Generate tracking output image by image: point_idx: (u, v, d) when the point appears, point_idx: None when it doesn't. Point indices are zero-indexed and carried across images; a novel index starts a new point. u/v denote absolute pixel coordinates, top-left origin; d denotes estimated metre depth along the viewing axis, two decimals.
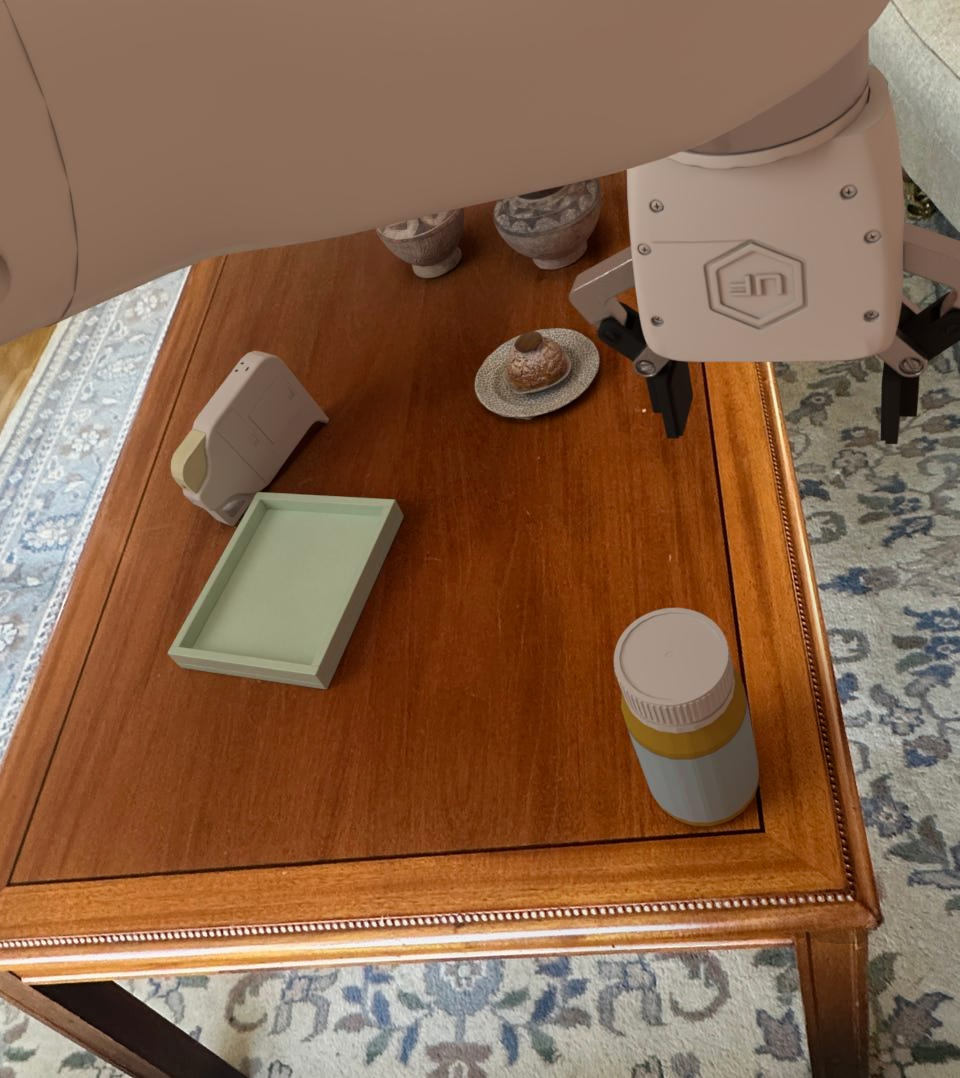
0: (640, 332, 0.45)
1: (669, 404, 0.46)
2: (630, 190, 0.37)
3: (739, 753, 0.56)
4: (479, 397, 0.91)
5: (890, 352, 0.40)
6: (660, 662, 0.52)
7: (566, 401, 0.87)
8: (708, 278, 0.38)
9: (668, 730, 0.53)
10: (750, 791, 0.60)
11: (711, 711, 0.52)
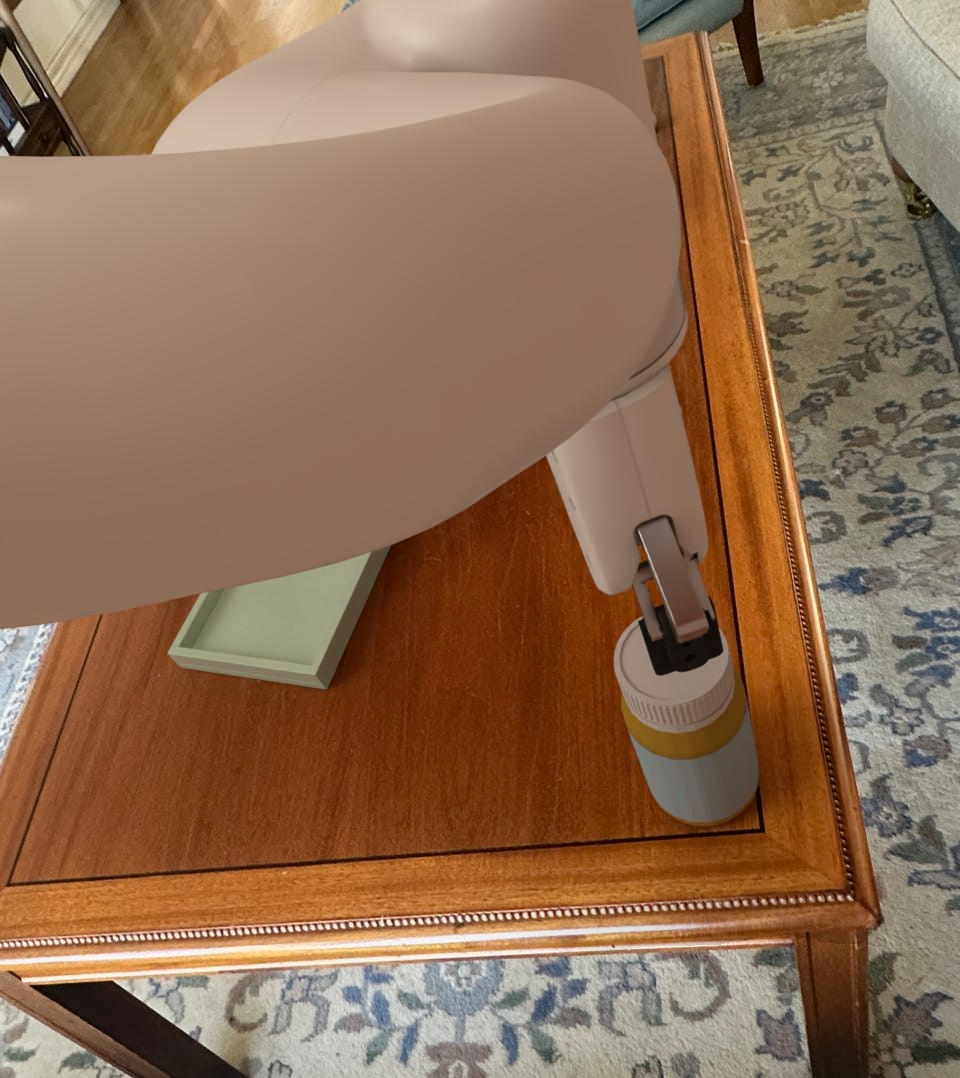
0: None
1: None
2: None
3: (739, 753, 0.56)
4: None
5: (638, 603, 0.41)
6: None
7: None
8: None
9: (668, 730, 0.53)
10: (750, 791, 0.60)
11: (711, 711, 0.52)
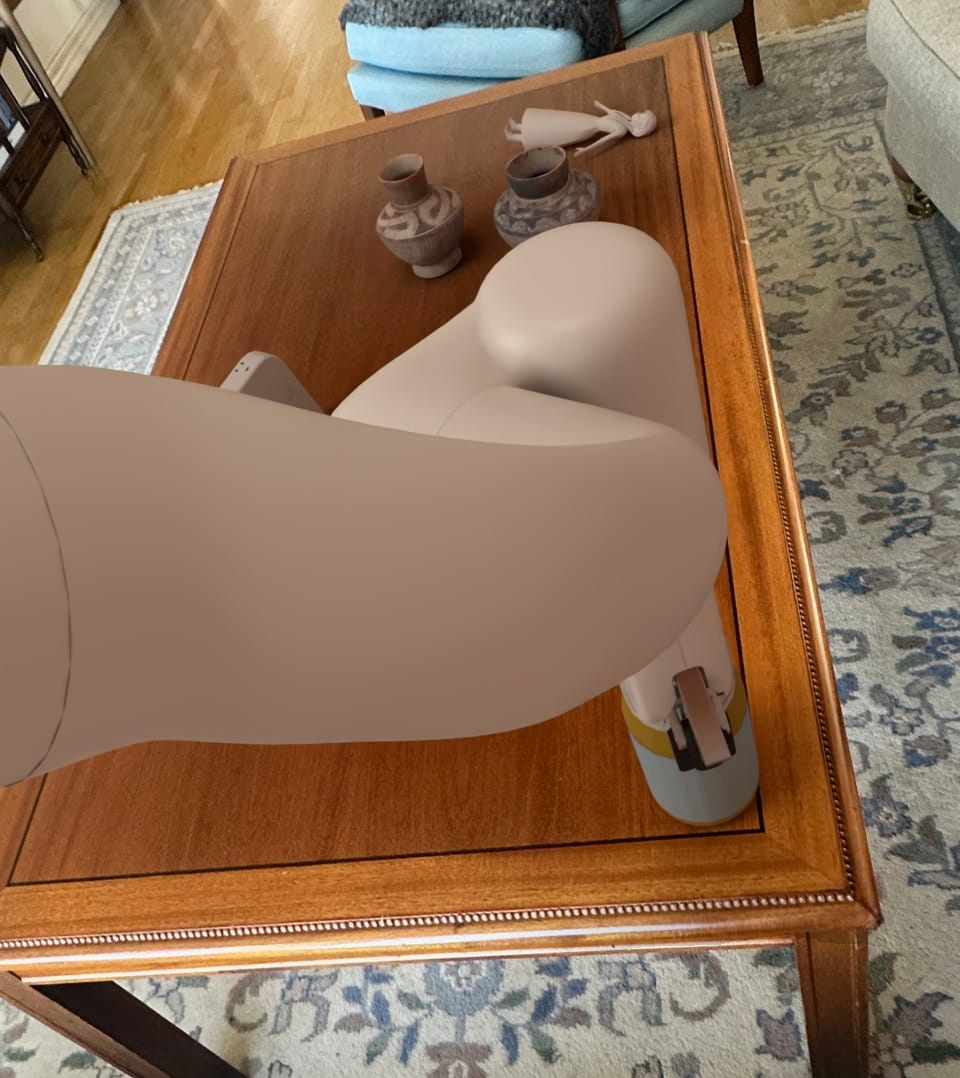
0: None
1: None
2: None
3: (739, 753, 0.56)
4: None
5: (668, 718, 0.49)
6: None
7: None
8: None
9: None
10: (750, 791, 0.60)
11: None
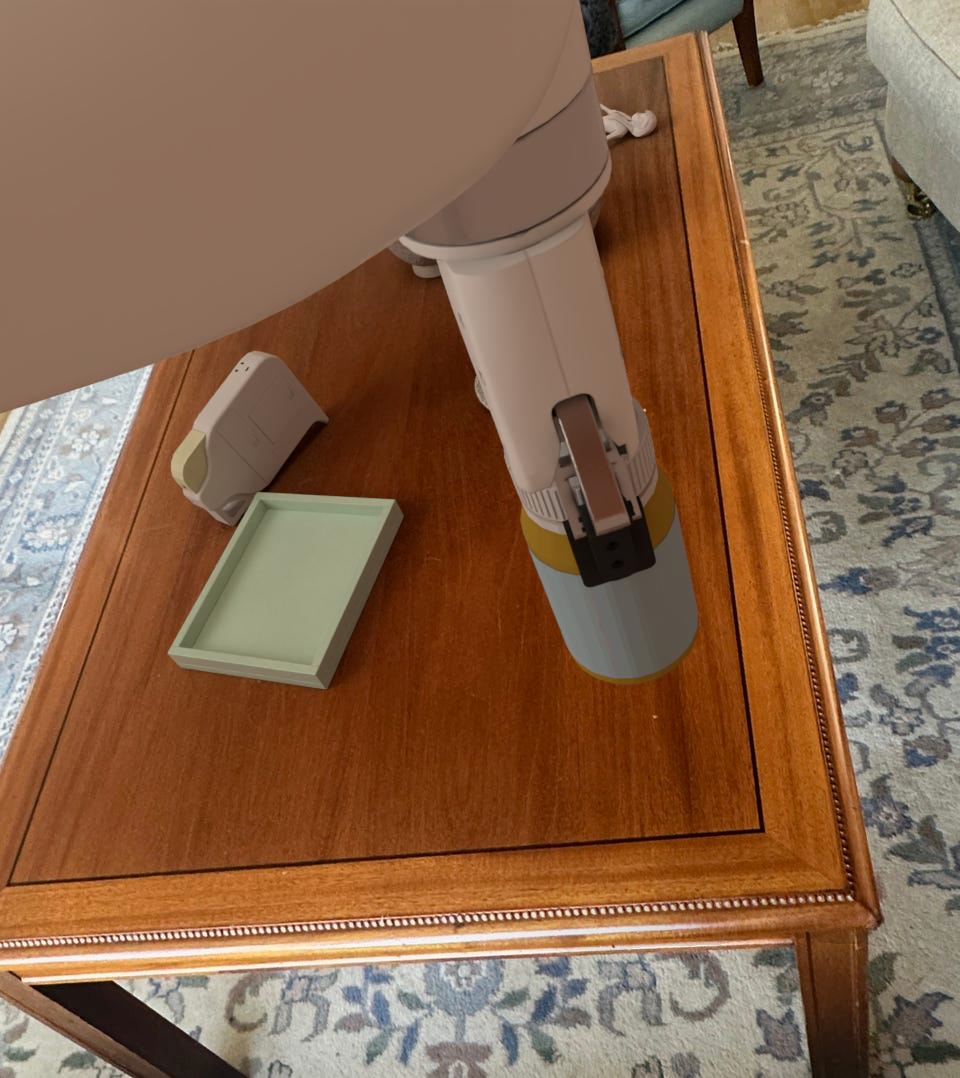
0: None
1: None
2: None
3: (666, 576, 0.44)
4: (479, 397, 0.91)
5: None
6: (561, 443, 0.41)
7: None
8: None
9: None
10: (685, 640, 0.48)
11: None
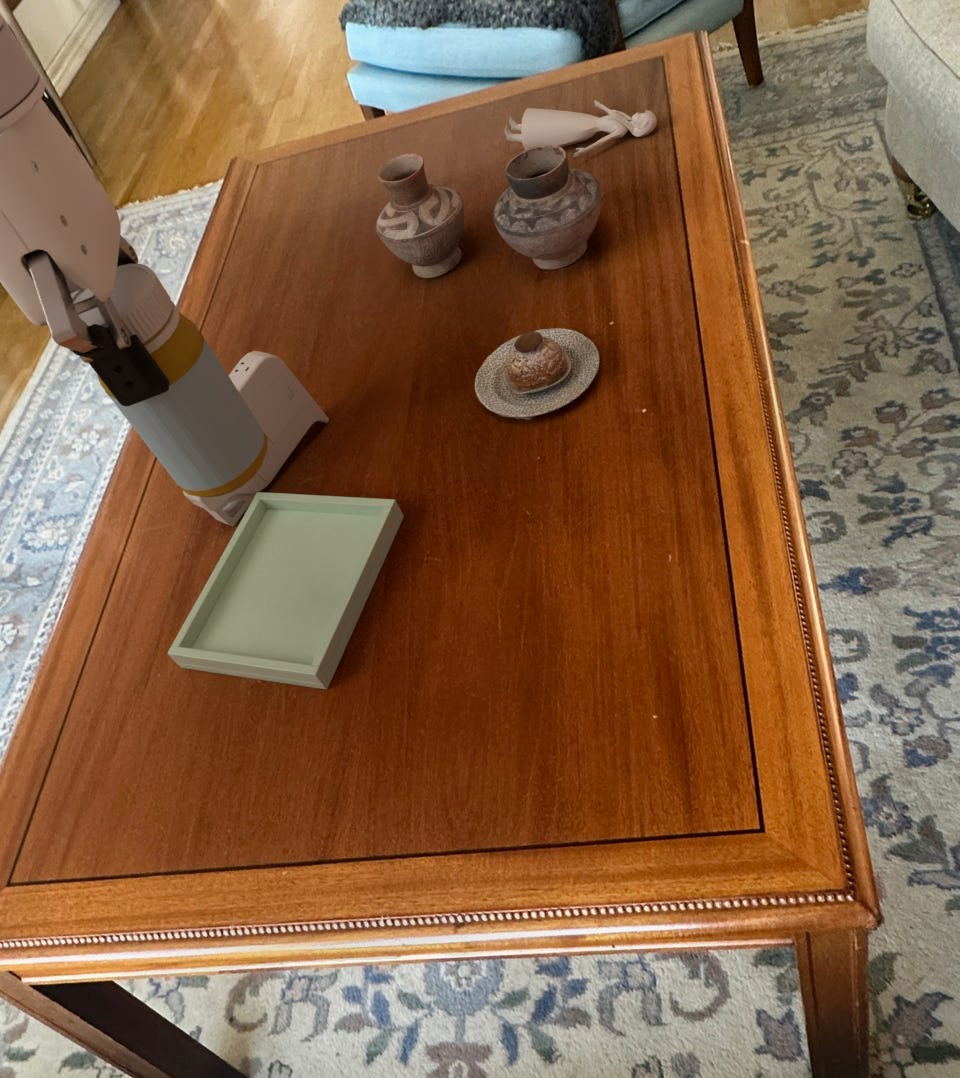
0: None
1: None
2: None
3: (200, 404, 0.62)
4: (479, 397, 0.91)
5: None
6: None
7: (566, 401, 0.87)
8: None
9: None
10: (243, 461, 0.66)
11: None
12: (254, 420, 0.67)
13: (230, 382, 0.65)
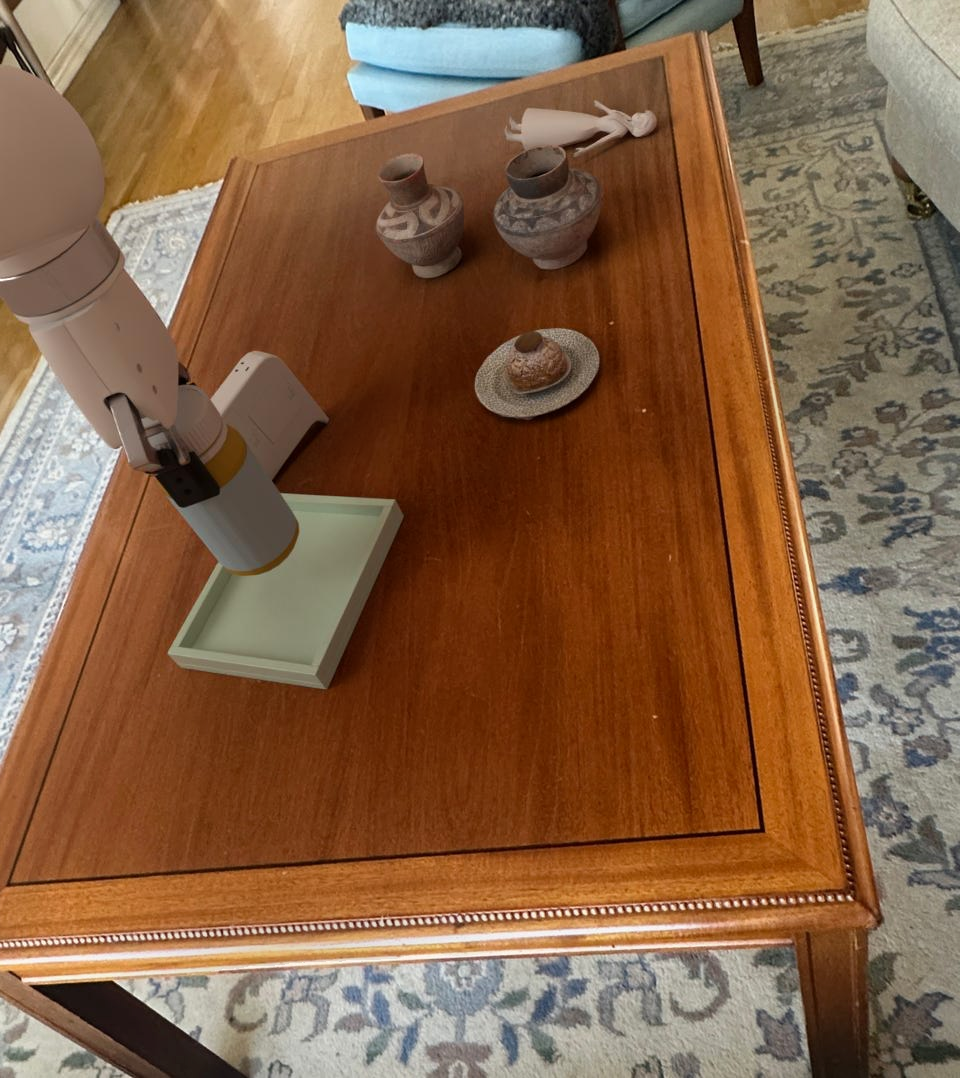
0: None
1: None
2: None
3: (244, 502, 0.72)
4: (479, 397, 0.91)
5: None
6: None
7: (566, 401, 0.87)
8: None
9: None
10: (279, 546, 0.76)
11: None
12: (288, 509, 0.78)
13: (268, 479, 0.75)
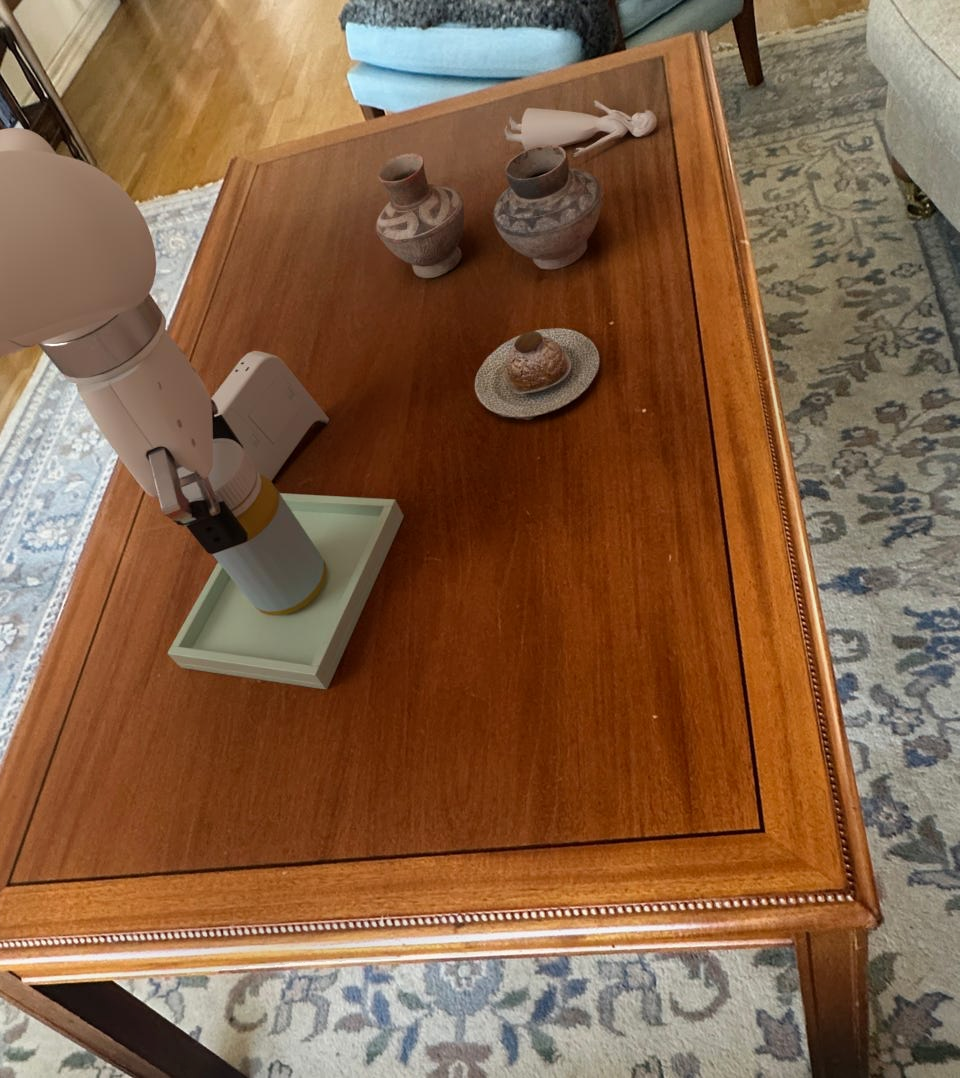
0: None
1: None
2: None
3: (276, 548, 0.76)
4: (479, 397, 0.91)
5: None
6: None
7: (566, 401, 0.87)
8: None
9: None
10: (308, 587, 0.80)
11: (230, 507, 0.72)
12: (316, 552, 0.81)
13: (298, 525, 0.79)
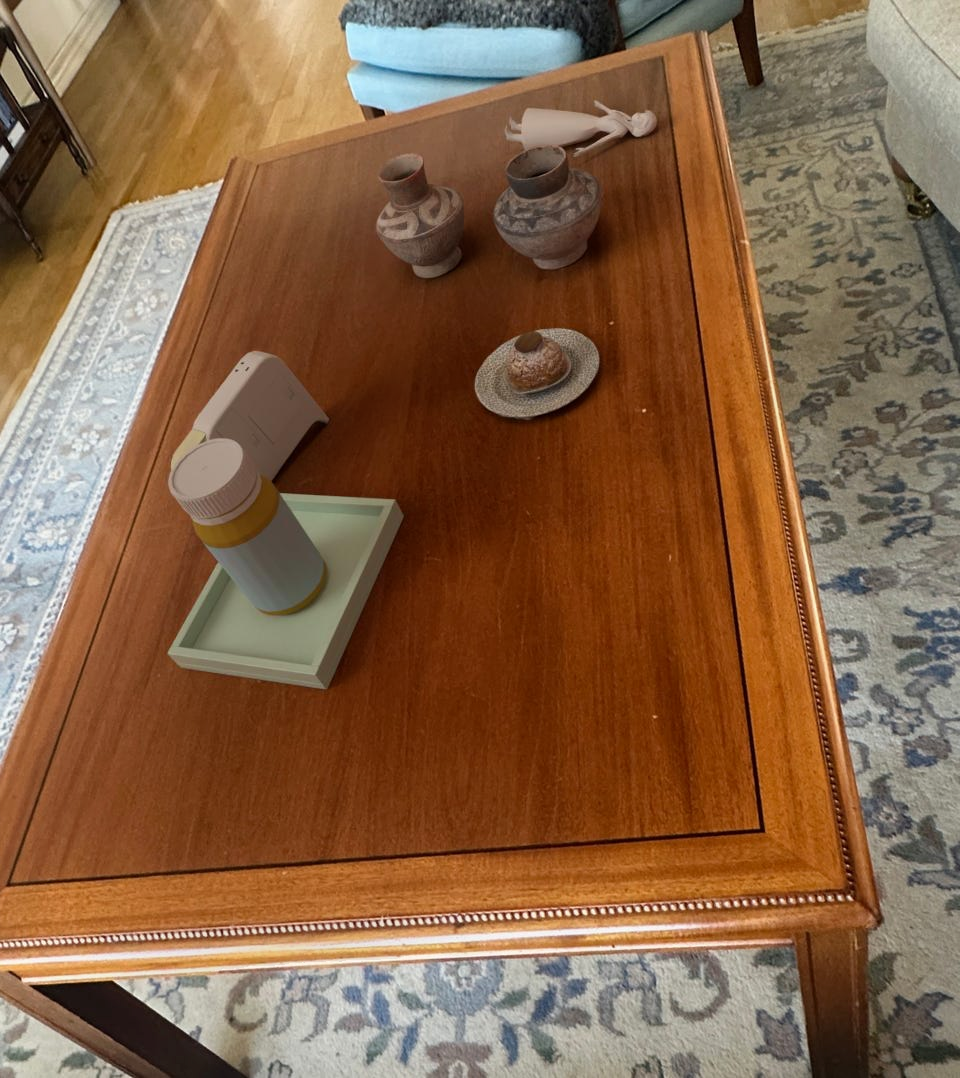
0: None
1: None
2: None
3: (276, 548, 0.76)
4: (479, 397, 0.91)
5: None
6: (198, 473, 0.73)
7: (566, 401, 0.87)
8: None
9: (206, 523, 0.73)
10: (308, 587, 0.80)
11: (231, 507, 0.72)
12: (316, 552, 0.81)
13: (298, 525, 0.79)
